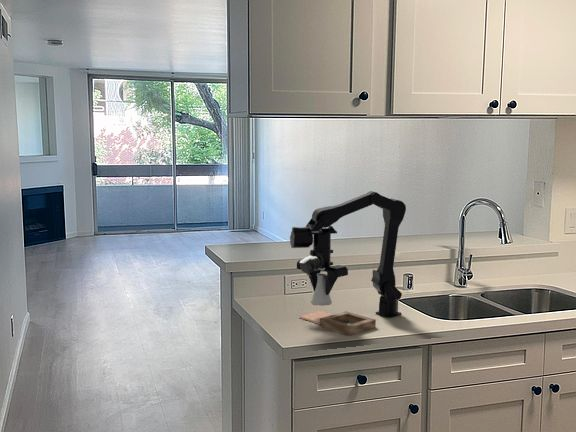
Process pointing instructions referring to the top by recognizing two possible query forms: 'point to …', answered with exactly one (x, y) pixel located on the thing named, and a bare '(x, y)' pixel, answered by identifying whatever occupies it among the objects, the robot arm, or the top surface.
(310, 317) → the terracotta coaster
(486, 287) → the top surface
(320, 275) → the flask
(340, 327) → the walnut holder
